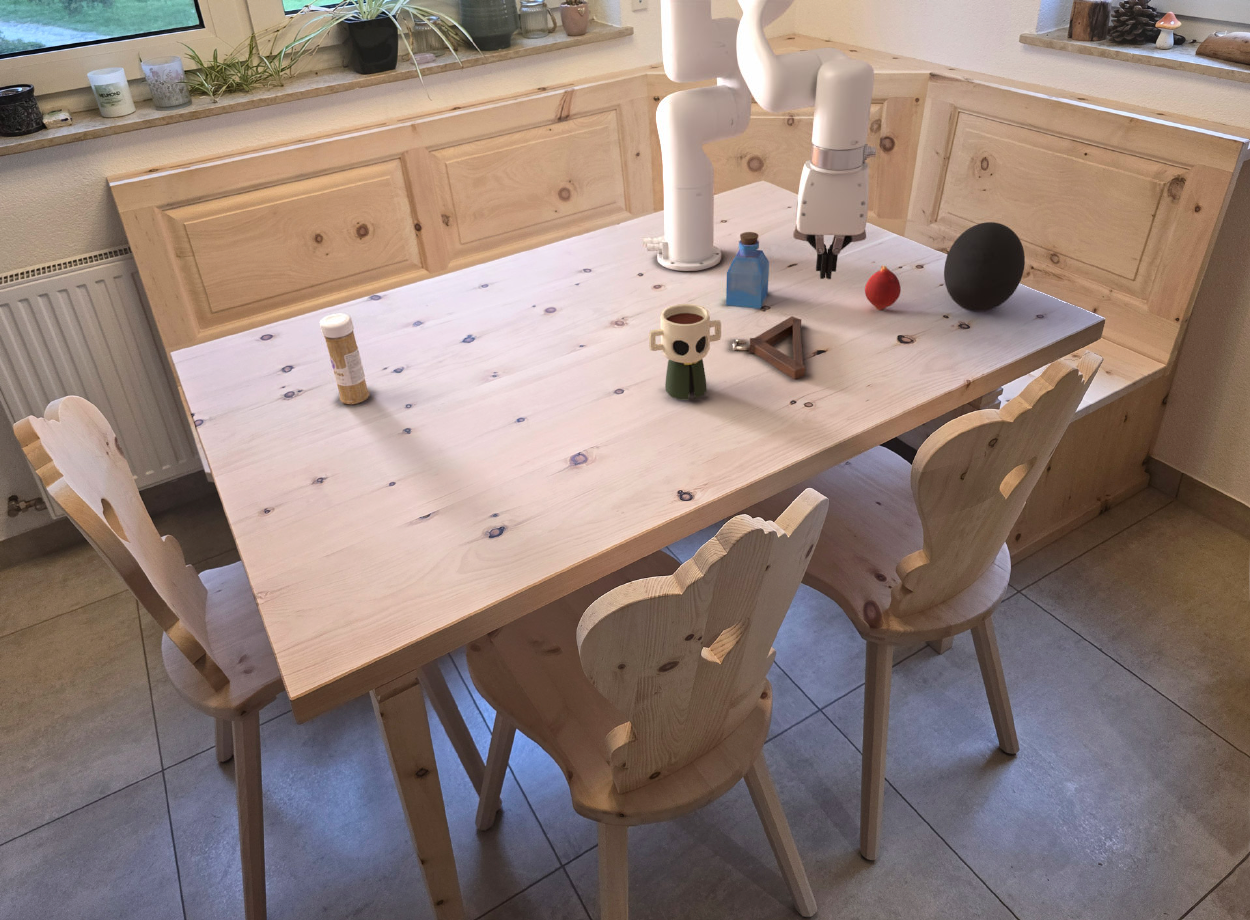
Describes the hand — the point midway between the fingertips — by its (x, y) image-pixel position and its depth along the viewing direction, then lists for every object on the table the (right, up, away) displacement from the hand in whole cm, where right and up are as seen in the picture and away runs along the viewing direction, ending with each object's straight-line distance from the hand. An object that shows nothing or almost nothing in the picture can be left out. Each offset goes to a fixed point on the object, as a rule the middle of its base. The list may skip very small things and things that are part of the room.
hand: (825, 275), depth 137 cm
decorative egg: (+29, -3, +16) cm, 34 cm away
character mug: (-22, -18, -2) cm, 28 cm away
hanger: (-8, -11, +7) cm, 15 cm away
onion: (+13, -3, +17) cm, 22 cm away
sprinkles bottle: (-73, -19, +1) cm, 75 cm away
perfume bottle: (-9, 0, +23) cm, 25 cm away
